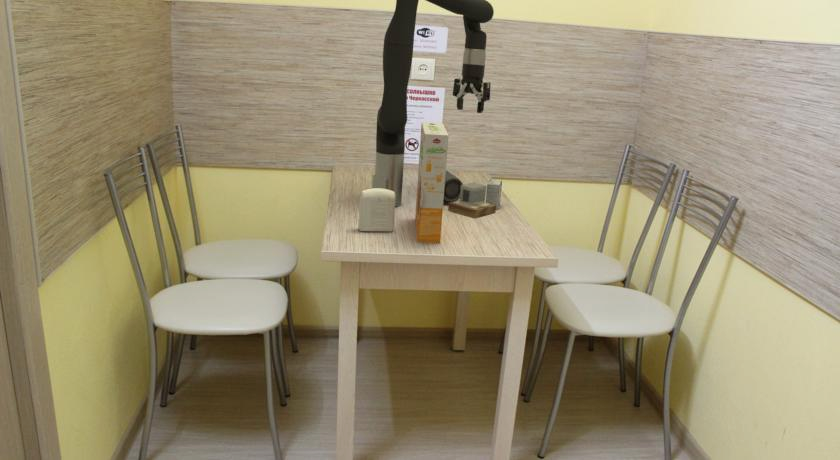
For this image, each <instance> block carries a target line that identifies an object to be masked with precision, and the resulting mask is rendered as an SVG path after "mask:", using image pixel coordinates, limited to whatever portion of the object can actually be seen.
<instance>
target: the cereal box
mask: <svg viewBox="0 0 840 460" xmlns="http://www.w3.org/2000/svg"><path fill="white" fill-rule="evenodd" d="M420 127H421V129H420V139H419V140H420V141H419V142H420V143H419V154H418V155H419V156H418V157H419V158H418V168H417V169H418V173H417V184H416V185H417V186H416V187H417V188H416V202H415V215H414V216H415V218H414V220H415V229H416V239H417V243H430V242H432V243H433V242H434V244H441V237H442V236H441V235H442V225H443V224H442V223H443V211H444V201H443V200H444V187H445V174H446V171H447V159H448V148H449V147H448V146H449V134H448V131H447V129H446V127H445V126H444V124H443V123H442V122H428V121H426V122H425V121H421V126H420Z"/></svg>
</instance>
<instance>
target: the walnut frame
mask: <svg viewBox="0 0 840 460" xmlns="http://www.w3.org/2000/svg"><path fill="white" fill-rule="evenodd" d="M459 201H460V200H457V201H453V202H448V206H447V207H448V209H447V210H448V211H449V212H452V213H456V214H460V215H463V216H466V217H469V218H472V219H477V218H481V217H485V216H487V215H491V214H495V213H496V205H492V204H489V203H486V202H485V203H484V204H480V205H476V206H472V207H471V206H468V205H464V204H461V203H459Z"/></svg>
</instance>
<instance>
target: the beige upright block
mask: <svg viewBox="0 0 840 460" xmlns="http://www.w3.org/2000/svg"><path fill="white" fill-rule="evenodd" d="M395 201H396V198H395V193H394V192H393V191H391V190H388V189H382V188H373V189H372V188H368V189H365V190H362V191H361V195H360V198H359V216H358V230H359V231H360V232H393V231H394V230H395V229H394V227H395V215H396V214H395V213H396V206H395Z"/></svg>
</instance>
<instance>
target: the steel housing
mask: <svg viewBox="0 0 840 460" xmlns="http://www.w3.org/2000/svg"><path fill="white" fill-rule="evenodd" d="M486 192H487V184H486V185H485V184H482V183H478V182H470V183H465V184H463V185H461V189H460V199H459V200H458V201H459V203H461V204H464V205H468V206H471V207H472V206H476V205H480V204H484V203H486Z"/></svg>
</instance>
